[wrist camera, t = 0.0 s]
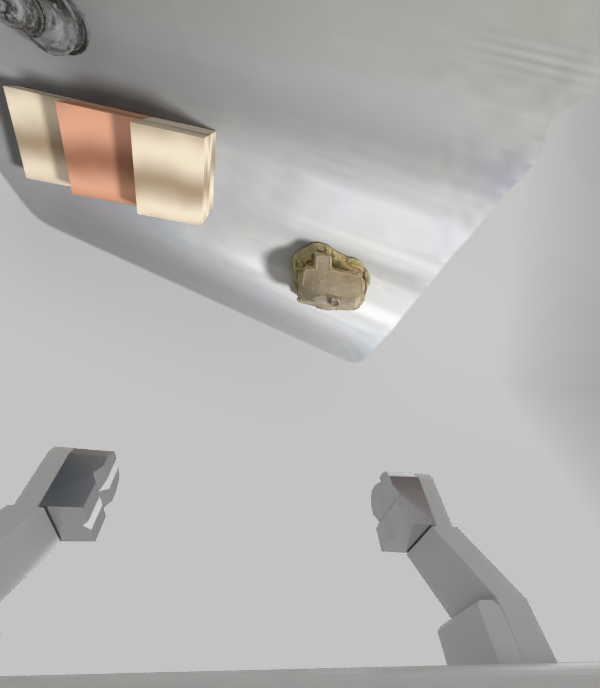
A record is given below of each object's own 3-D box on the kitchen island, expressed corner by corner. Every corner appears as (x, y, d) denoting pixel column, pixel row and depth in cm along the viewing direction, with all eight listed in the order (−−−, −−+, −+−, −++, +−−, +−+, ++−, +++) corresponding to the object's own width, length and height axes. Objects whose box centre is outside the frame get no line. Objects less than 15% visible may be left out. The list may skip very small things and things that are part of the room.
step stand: (18, 86, 41) (-36, 84, 34) (216, 131, 45) (204, 138, 38) (39, 173, 47) (-4, 188, 40) (212, 207, 51) (201, 225, 44)
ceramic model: (283, 297, 61) (284, 327, 53) (296, 237, 55) (299, 262, 47) (357, 308, 63) (368, 339, 55) (376, 252, 57) (393, 279, 49)
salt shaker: (52, 61, 40) (-19, 50, 31) (24, -9, 37) (-66, -46, 27) (101, 56, 40) (44, 44, 30) (77, -15, 37) (5, -53, 27)
